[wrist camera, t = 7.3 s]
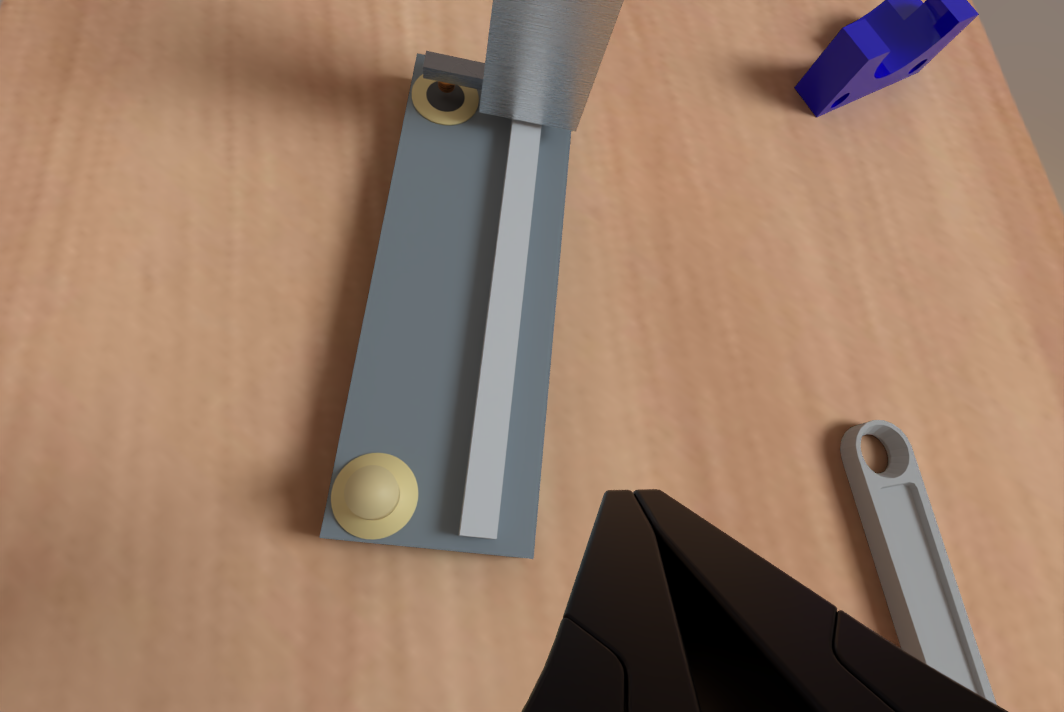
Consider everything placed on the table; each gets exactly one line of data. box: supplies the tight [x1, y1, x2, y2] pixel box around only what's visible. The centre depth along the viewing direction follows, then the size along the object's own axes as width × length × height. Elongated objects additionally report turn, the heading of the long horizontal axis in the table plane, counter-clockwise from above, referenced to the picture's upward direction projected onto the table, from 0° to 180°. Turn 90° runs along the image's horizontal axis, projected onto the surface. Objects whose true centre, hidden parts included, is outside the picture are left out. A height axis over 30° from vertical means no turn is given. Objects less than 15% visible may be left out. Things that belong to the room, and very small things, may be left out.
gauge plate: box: [320, 53, 571, 559], centre depth 22 cm, size 20×7×3 cm, turn 174°
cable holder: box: [794, 0, 979, 117], centre depth 30 cm, size 8×4×4 cm, turn 120°
